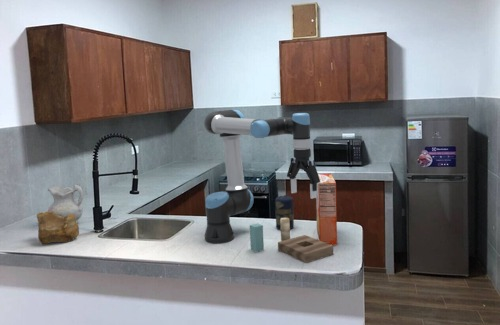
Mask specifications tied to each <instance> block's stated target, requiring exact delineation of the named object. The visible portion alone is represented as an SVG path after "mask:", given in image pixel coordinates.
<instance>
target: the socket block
mask: <svg viewBox="0 0 500 325" xmlns="http://www.w3.org/2000/svg"><path fill="white" fill-rule="evenodd" d="M277 251H279V252H280V253H283V254H285V255H287V256H290V257H292V258H294V259H295V260H298V261H300V262H302V263H304V264H307V263H310V262H313V261H317V260H319V259H323V258H325V257H328V256H329V257H330V256H333V255H334V245H330V244H327V243H325V242H322V241H319V239H316V238H315V237H312V236H308V235H307V234H302V235H300V236H299V235H298V236H296V237H295V236H294V237H292V238H291V237H290V239H288V240H284V241H281V240H280V241H278V242H277Z"/></svg>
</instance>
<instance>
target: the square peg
mask: <svg viewBox="0 0 500 325" xmlns="http://www.w3.org/2000/svg"><path fill="white" fill-rule="evenodd" d="M249 235H250V236H249V238H250V239H249V240H250V250H251V251H253V252H255V253H258V252H262V251H265V247H264V246H265V245H264V244H265V243H264V226H263V224H260V223H258V222H257V223H253V224H249Z"/></svg>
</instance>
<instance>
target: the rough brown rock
mask: <svg viewBox="0 0 500 325" xmlns="http://www.w3.org/2000/svg"><path fill="white" fill-rule="evenodd" d="M36 219H37V222H38V225H37V226H38V232H37V233H38V235H37V236H38V239H39V241H40V244H41V245H47V244H49V243H54V242H56V243H57V242H59V243H69V242H70V241H73V240H75V239H76V238H77V237H78V236H79V234H80V229H79V223H78V222H77V221H76V219H75V215H74V214H68V215H67V216H65V217H61V216H58V215H56V214H55V213H54V212H53V211H48V210H47V211H45V212H39V213H37V214H36ZM76 222H77V223H78V224H77V223H76Z"/></svg>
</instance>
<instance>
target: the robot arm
mask: <svg viewBox="0 0 500 325" xmlns="http://www.w3.org/2000/svg"><path fill="white" fill-rule="evenodd" d="M310 117H311V116H310V114H309V113H307V112H297V113H296V112H295V113H293V114H292V116H291V117H283V116H281V117H275V118H270V119H261V118H260V119H256V118H246V117H245V115H244V114H243V113H242V112H241V111H240V110H238V109H227V110H215V111H212V112H210V113H208V114H207V115H206V116H205V117H204V120H203V127H204V130H206V132H208V133H209V134H210V135H219V138H220V139H221V140H222V141H223V150H224V158H225V159H224V160H225V170H226V179H227V186H226V187H225V191H215V192H212V193H210V194H208V195H207V196H206V197H205V213H206V227H205V232H204V241H205V242H207V243H209V244H224V243H228V242H231V241H233V240H234V239H235V233H234V229H233V227H232V225H231V218H230V217H231V216H235V215H238V214H243V213H245V212H247V211H250V210H251V208H252V207H253V204H254V194H253V193H252V191H251V189H249V188H248V186H247V185H246V184H245V177H244V169H243V158H242V148H241V137H242V136H251V137H254V139H255V138H256V139H264V138H266V137H267V138H268V137H275V136H281V135H292V140H293V141H292V143H293V144H292V147H293V157H291V158H290V162H289V163H290V164H289V166H288V171H287V174H286V177H287V178H289V180H290V182H289V184H290V193H291V194H297V193H298V189H297V187H298V185H297V175H298V173H299V171H300V170H301V171H304V172H305V174H306V175H307V177H308V179H309V180H310V183H309V191H310V192H309V193H310V196H309V197H310V199H316V191H317V183H319V182H320V179H319V176H318V174H319V173H318V171H317V167H316V163H315V162H316V161H315V160H314V159H313V160H310V158H311V156H312V153H311V152H312V151H311V150H312V149H311V119H310Z"/></svg>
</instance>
